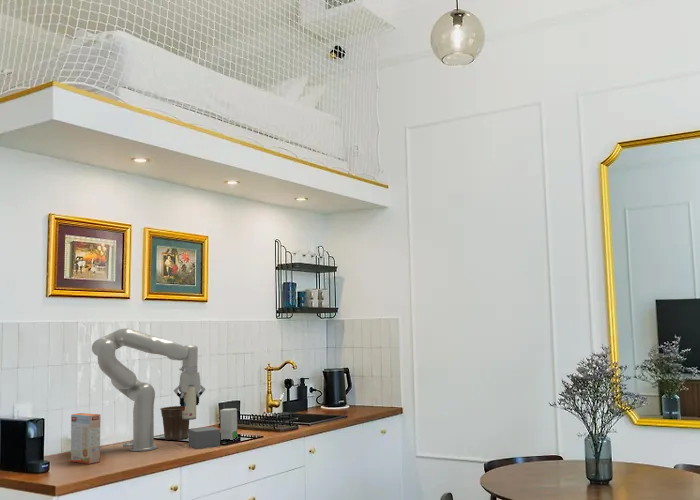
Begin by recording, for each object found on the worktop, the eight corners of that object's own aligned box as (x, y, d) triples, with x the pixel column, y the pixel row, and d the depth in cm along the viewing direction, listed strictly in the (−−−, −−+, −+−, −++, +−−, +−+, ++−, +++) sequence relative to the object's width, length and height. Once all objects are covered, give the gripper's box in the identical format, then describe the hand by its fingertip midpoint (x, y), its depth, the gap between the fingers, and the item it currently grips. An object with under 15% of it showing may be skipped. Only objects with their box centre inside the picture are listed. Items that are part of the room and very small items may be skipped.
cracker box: (101, 462, 312) (101, 413, 314) (88, 464, 307) (89, 415, 309) (82, 459, 320) (82, 412, 322) (70, 461, 315) (70, 414, 317)
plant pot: (154, 439, 373) (154, 408, 374) (180, 435, 384) (180, 404, 386) (171, 442, 362) (171, 410, 363) (198, 437, 373) (197, 406, 375)
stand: (195, 449, 339) (195, 431, 339) (188, 445, 349) (188, 429, 350) (220, 446, 344) (219, 429, 345) (212, 442, 355) (212, 426, 356)
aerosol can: (181, 418, 359) (181, 378, 361) (194, 417, 362) (195, 378, 364) (183, 420, 353) (184, 379, 355) (197, 419, 356) (197, 378, 358)
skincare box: (232, 441, 358) (231, 409, 360) (219, 441, 360) (219, 410, 361) (237, 438, 366) (237, 407, 368) (225, 438, 368) (225, 408, 369)
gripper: (174, 370, 353) (174, 407, 351) (208, 369, 361) (208, 405, 359) (170, 370, 359) (170, 406, 357) (204, 368, 368) (203, 403, 366)
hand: (189, 405), depth 358 cm, fingers closed on aerosol can, 6 cm apart
